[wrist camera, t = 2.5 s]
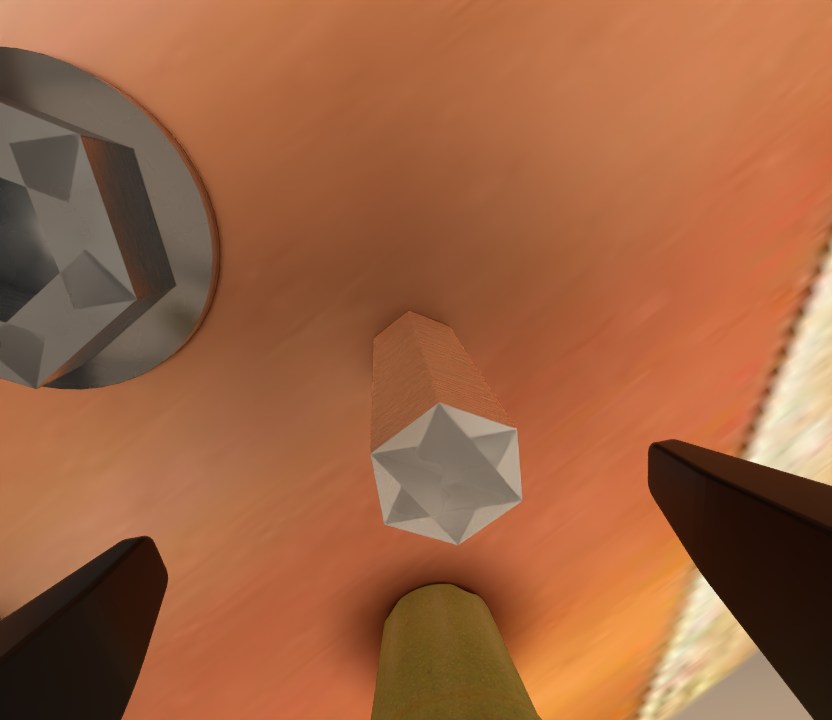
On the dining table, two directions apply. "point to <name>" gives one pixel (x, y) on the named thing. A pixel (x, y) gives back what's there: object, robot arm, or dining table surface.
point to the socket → (94, 231)
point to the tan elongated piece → (438, 435)
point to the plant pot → (446, 662)
